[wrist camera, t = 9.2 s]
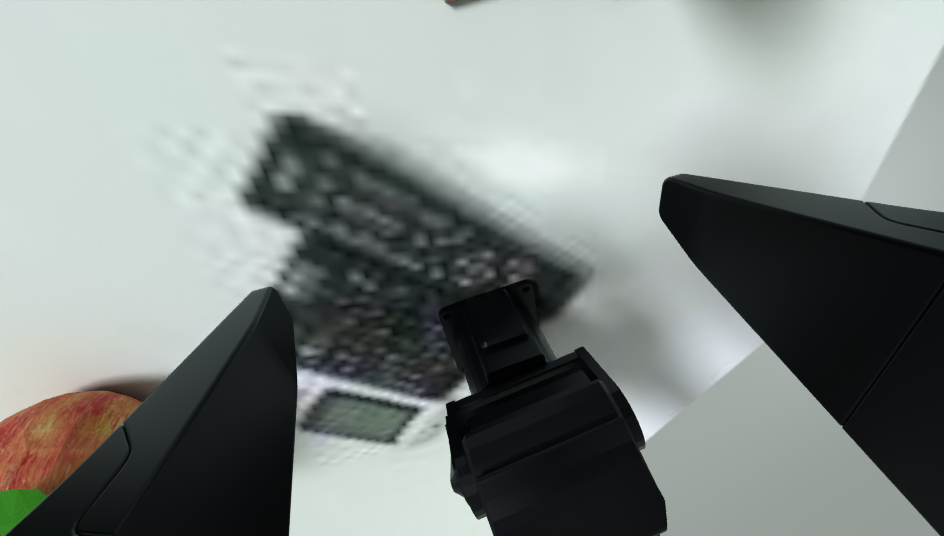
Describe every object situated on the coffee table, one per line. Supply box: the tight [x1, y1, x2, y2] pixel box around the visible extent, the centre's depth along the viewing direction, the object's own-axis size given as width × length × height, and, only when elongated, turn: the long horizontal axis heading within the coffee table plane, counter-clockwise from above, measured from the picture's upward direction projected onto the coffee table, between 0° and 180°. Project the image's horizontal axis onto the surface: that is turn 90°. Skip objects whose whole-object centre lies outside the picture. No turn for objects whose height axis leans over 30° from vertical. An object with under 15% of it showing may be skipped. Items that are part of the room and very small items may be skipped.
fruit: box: [0, 391, 142, 536], centre depth 21 cm, size 9×10×10 cm
